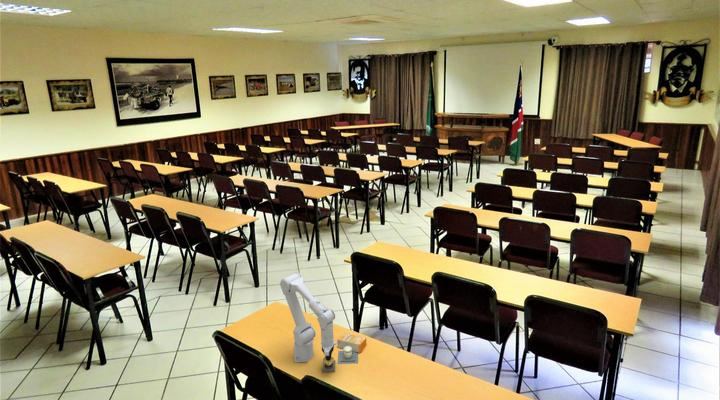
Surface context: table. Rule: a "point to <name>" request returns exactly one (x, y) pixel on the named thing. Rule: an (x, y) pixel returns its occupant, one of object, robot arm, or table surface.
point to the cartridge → (347, 352)
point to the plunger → (328, 362)
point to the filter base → (351, 361)
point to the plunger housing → (328, 368)
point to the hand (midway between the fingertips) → (328, 359)
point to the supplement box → (351, 342)
